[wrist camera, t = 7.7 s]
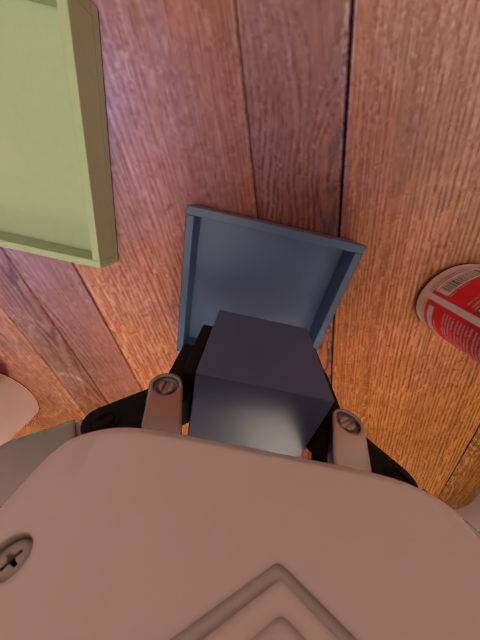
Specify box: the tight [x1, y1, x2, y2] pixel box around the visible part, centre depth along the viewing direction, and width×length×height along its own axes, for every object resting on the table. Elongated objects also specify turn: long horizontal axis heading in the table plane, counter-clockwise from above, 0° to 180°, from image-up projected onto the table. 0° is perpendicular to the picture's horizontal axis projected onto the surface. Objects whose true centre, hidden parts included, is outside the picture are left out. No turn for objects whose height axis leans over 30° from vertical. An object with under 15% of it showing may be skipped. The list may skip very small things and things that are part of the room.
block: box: [187, 310, 334, 457], centre depth 11 cm, size 5×5×5 cm
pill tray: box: [0, 0, 118, 268], centre depth 15 cm, size 15×13×3 cm
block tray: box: [177, 204, 366, 351], centre depth 20 cm, size 13×13×3 cm
